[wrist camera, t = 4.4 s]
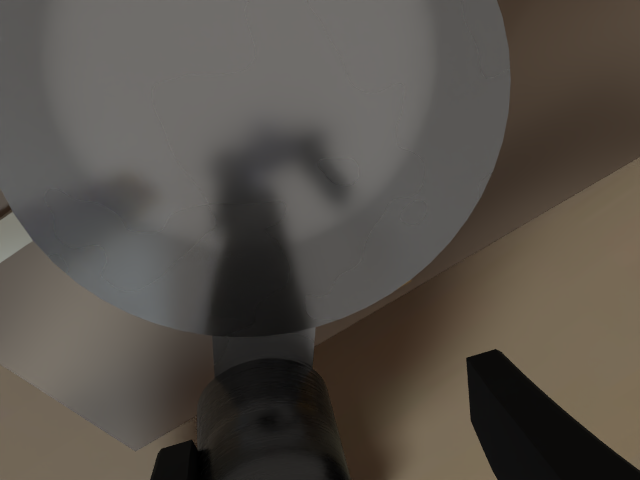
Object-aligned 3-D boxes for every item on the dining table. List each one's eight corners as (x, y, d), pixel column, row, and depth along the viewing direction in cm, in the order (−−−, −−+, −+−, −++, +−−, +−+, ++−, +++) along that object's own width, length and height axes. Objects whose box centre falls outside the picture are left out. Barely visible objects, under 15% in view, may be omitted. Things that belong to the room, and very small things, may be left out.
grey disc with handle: (-44, -191, 8) (-417, -279, 3) (500, -143, 9) (825, -150, 4) (91, 391, 14) (40, 659, 9) (400, 360, 15) (492, 577, 11)
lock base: (675, 81, 17) (776, 126, 14) (139, 402, 20) (131, 494, 17) (496, -878, 8) (679, -1324, 5) (-437, -12, 11) (-665, 33, 8)
